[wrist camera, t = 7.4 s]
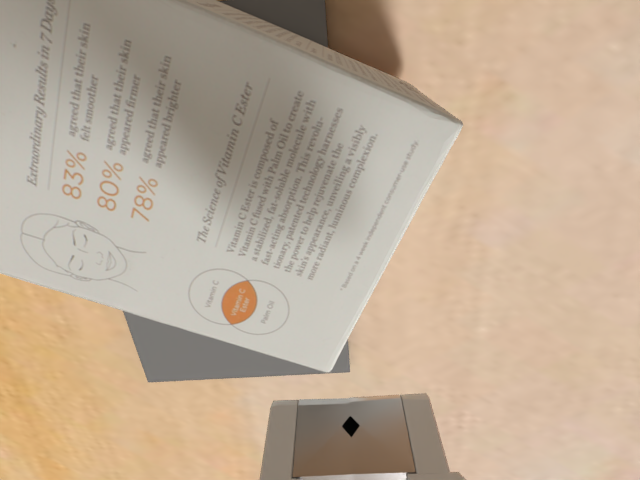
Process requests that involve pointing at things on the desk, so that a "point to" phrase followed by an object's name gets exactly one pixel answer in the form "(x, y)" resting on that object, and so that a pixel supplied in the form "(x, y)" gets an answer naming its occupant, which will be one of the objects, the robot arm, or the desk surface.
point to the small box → (206, 169)
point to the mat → (205, 352)
